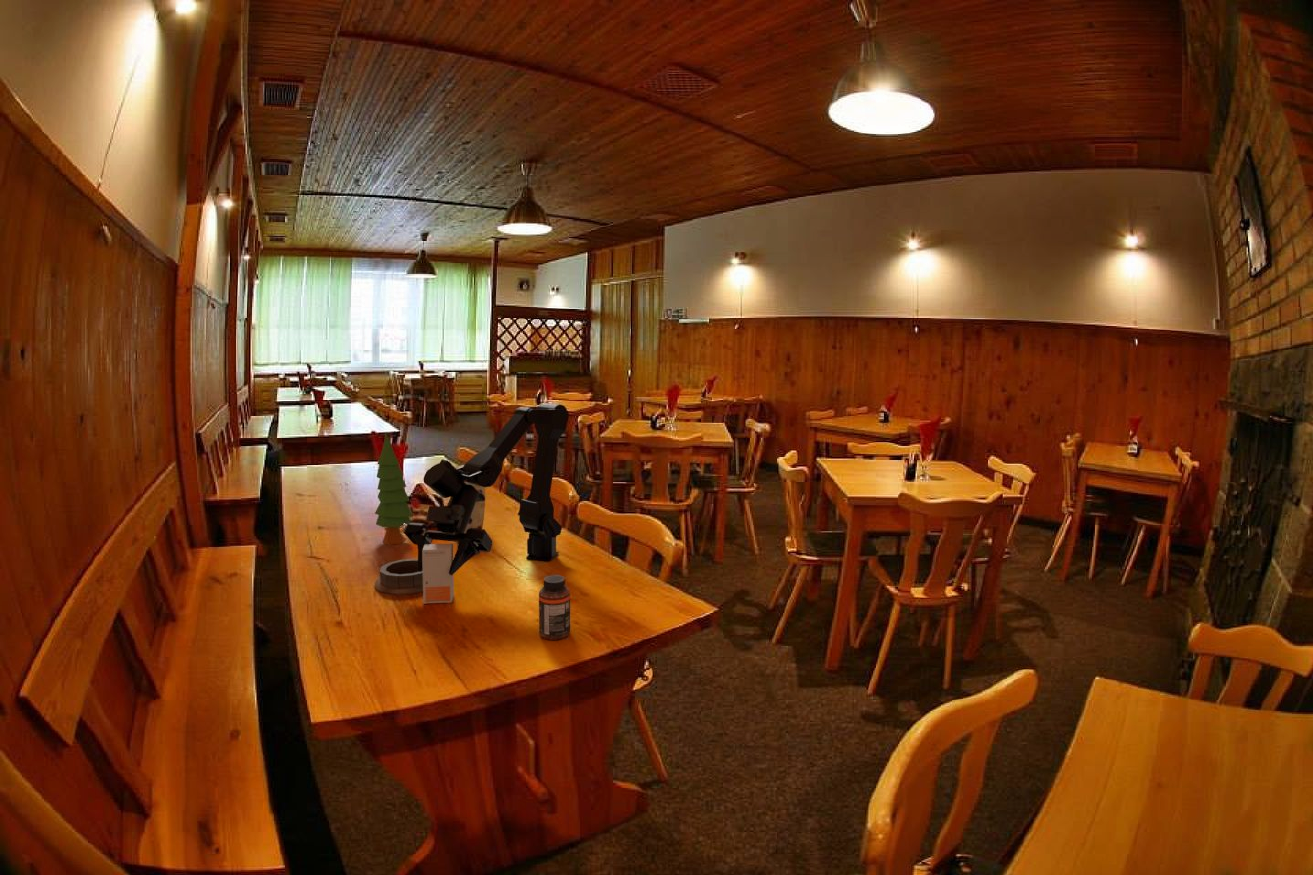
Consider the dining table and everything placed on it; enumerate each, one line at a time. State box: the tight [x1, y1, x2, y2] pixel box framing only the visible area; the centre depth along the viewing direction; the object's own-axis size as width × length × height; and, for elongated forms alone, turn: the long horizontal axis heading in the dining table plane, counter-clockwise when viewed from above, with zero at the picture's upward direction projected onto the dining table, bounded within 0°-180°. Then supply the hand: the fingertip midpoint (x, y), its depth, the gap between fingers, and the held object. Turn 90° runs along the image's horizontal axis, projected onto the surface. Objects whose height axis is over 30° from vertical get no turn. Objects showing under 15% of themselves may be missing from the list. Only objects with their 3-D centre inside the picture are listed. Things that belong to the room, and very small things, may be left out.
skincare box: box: [422, 543, 455, 605], centre depth 148 cm, size 6×4×12 cm
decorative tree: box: [374, 432, 413, 546], centre depth 187 cm, size 10×9×30 cm
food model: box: [455, 464, 486, 534], centre depth 197 cm, size 10×7×20 cm
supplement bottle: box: [538, 574, 571, 641], centre depth 133 cm, size 6×6×11 cm
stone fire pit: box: [374, 558, 423, 596], centre depth 158 cm, size 14×14×4 cm
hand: (434, 572), depth 147 cm, fingers closed on skincare box, 7 cm apart
